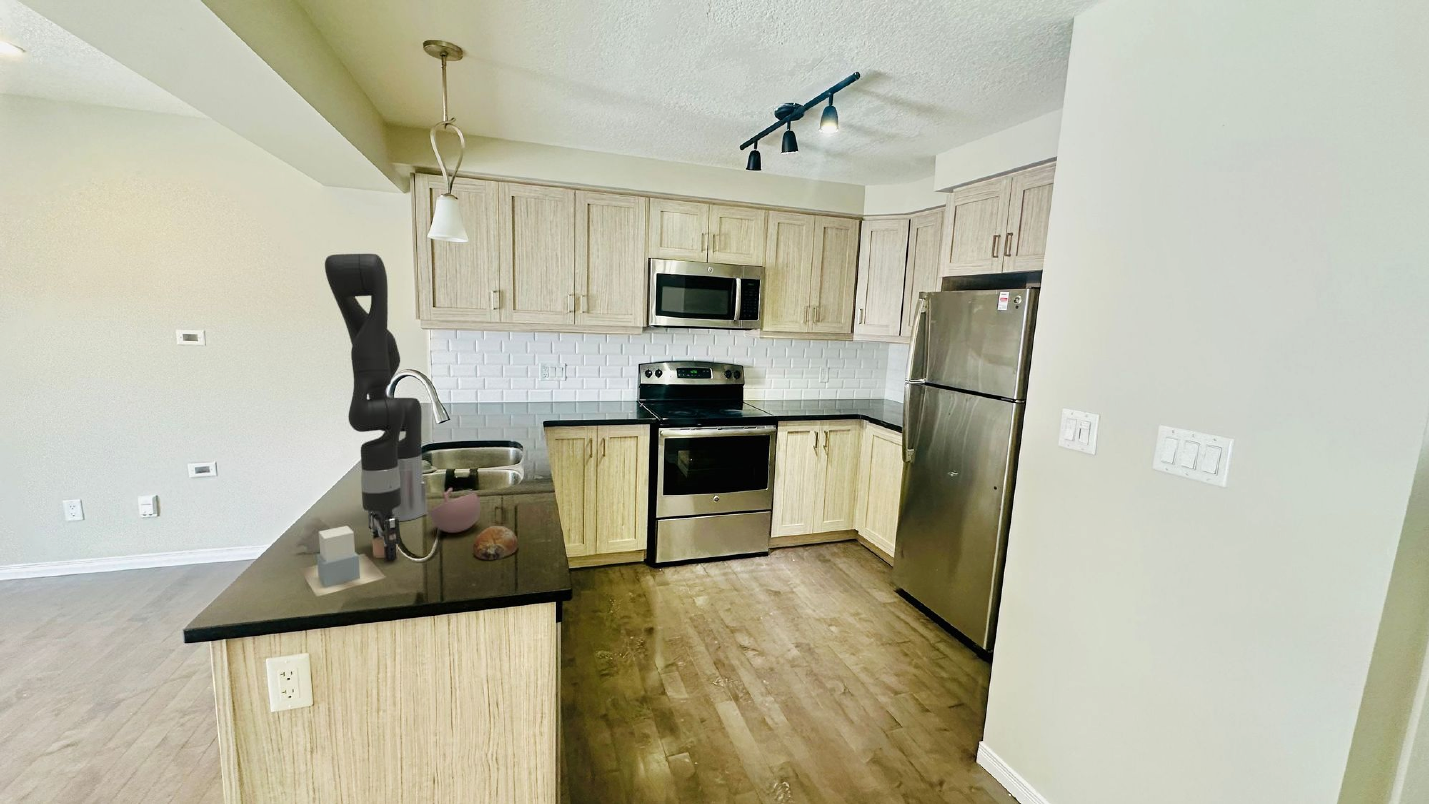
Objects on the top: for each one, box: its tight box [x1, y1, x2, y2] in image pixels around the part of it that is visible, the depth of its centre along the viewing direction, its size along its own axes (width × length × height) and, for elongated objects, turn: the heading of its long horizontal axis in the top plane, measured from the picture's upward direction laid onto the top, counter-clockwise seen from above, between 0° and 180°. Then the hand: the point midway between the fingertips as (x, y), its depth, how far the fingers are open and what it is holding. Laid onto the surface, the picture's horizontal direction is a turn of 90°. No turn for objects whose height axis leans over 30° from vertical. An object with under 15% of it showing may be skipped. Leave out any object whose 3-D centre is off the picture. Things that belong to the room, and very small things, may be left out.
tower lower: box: [316, 551, 360, 588], centre depth 115 cm, size 6×6×5 cm
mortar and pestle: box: [429, 487, 481, 534], centre depth 145 cm, size 12×12×12 cm
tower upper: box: [319, 525, 356, 563], centre depth 114 cm, size 5×5×5 cm
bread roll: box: [472, 525, 519, 561], centre depth 134 cm, size 10×10×8 cm
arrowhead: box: [294, 516, 331, 554], centre depth 127 cm, size 8×3×10 cm, turn 118°
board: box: [299, 553, 387, 598], centre depth 117 cm, size 12×16×2 cm
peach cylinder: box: [372, 535, 398, 559], centre depth 127 cm, size 5×5×5 cm
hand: (385, 554), depth 127 cm, fingers open, 8 cm apart
